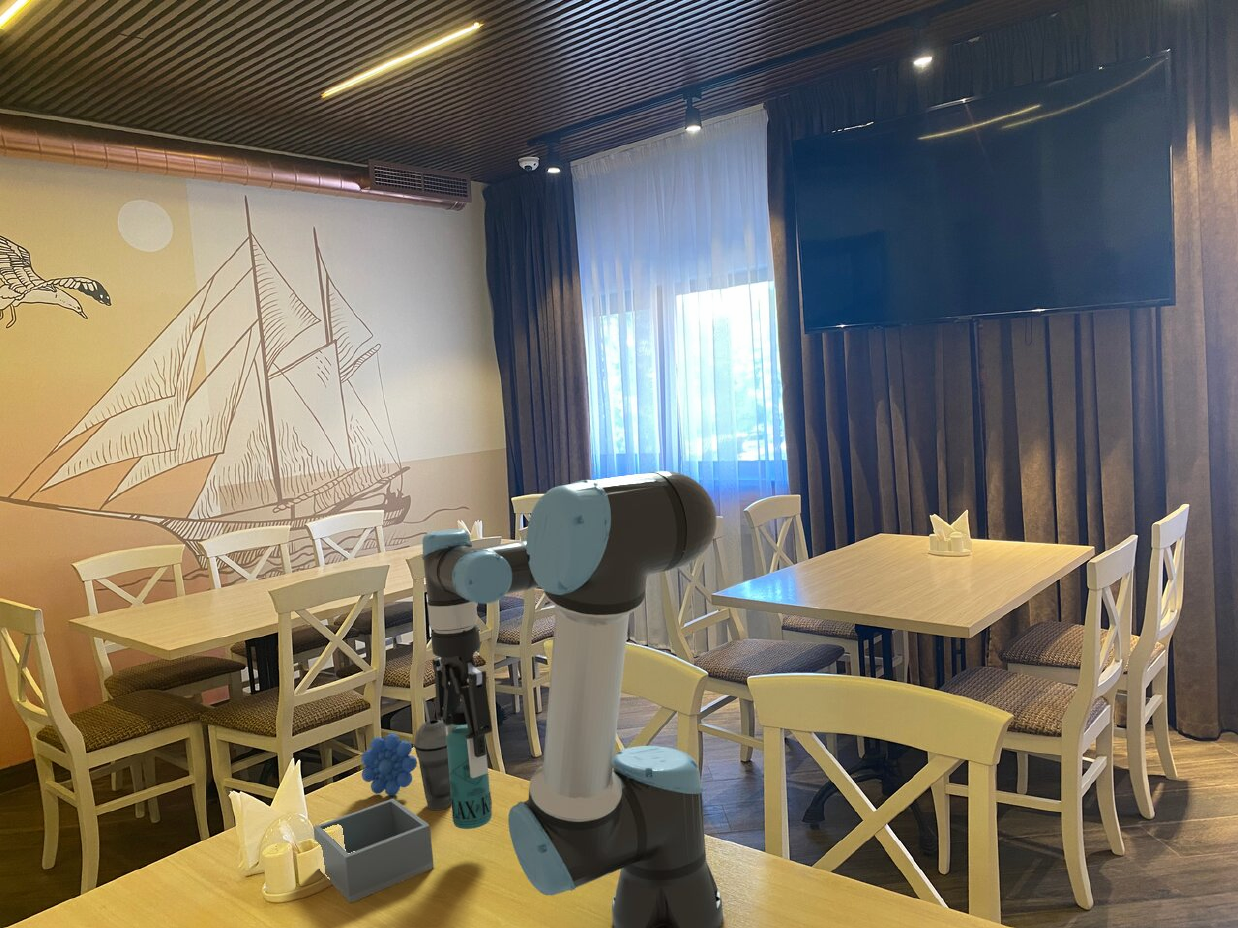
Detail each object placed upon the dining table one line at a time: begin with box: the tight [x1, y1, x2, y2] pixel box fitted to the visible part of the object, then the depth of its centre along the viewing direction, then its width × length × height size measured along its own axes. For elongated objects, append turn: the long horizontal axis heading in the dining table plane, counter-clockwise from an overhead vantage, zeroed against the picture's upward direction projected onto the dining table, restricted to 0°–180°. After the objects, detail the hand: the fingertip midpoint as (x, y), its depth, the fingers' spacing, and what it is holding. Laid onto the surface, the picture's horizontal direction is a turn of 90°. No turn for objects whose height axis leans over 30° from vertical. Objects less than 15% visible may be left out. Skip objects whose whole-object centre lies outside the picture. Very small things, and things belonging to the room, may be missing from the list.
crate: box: [313, 798, 435, 904], centre depth 143 cm, size 14×14×7 cm
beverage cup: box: [413, 697, 452, 811], centre depth 164 cm, size 7×7×20 cm
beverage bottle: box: [446, 705, 493, 830], centre depth 145 cm, size 6×7×20 cm
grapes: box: [360, 733, 418, 797], centre depth 170 cm, size 12×7×12 cm, turn 75°
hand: (468, 768), depth 145 cm, fingers closed on beverage bottle, 6 cm apart
